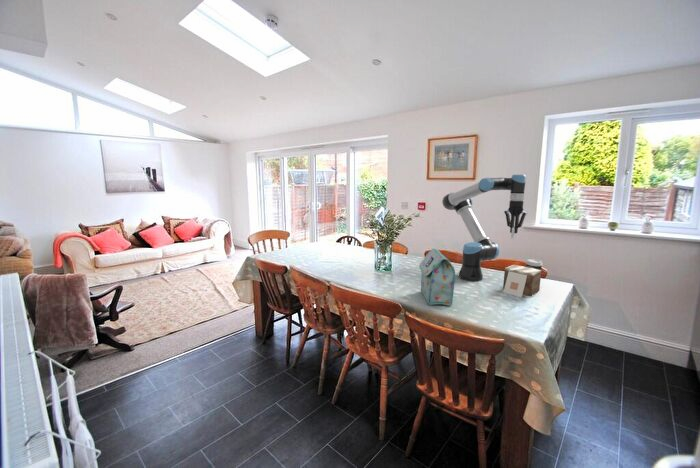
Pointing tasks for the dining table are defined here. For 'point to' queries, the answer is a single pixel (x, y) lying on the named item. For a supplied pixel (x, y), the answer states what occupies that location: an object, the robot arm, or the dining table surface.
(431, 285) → the lunch bag
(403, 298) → the dining table surface
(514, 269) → the cardboard box
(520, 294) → the white flat panel
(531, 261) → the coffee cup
